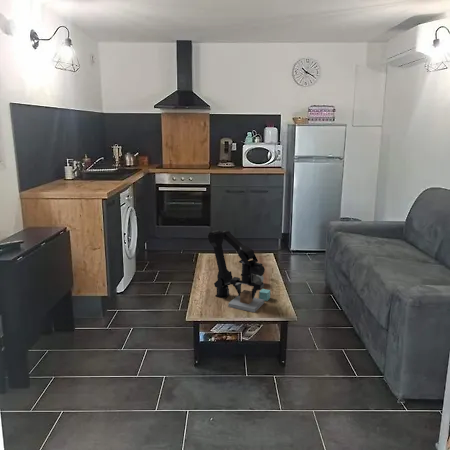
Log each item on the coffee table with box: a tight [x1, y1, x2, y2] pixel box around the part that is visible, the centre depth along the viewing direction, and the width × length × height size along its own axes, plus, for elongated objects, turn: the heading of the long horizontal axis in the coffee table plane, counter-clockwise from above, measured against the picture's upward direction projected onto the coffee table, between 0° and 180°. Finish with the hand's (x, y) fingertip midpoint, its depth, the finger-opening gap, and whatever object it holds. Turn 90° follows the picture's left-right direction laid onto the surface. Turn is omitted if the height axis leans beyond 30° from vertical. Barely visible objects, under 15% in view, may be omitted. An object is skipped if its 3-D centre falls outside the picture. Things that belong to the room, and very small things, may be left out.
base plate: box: [227, 294, 265, 313], centre depth 250 cm, size 16×14×2 cm
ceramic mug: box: [252, 274, 264, 283], centre depth 279 cm, size 11×8×8 cm
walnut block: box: [240, 289, 253, 304], centre depth 249 cm, size 6×6×6 cm
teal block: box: [258, 288, 271, 302], centre depth 258 cm, size 5×5×5 cm
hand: (246, 297), depth 249 cm, fingers open, 8 cm apart
